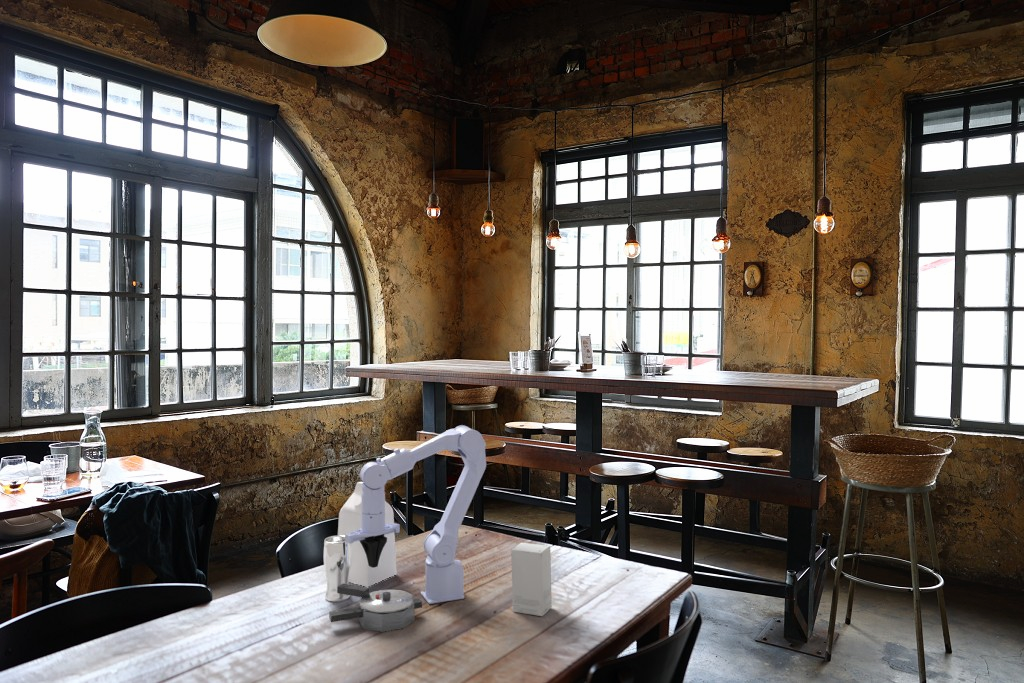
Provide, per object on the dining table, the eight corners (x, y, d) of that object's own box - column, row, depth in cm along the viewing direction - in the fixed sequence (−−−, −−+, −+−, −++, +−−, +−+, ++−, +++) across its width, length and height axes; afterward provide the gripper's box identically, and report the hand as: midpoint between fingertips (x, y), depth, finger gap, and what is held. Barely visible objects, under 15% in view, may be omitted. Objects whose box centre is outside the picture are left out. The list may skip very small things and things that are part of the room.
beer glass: (344, 603, 177) (344, 544, 177) (318, 601, 179) (318, 542, 178) (356, 593, 184) (356, 535, 184) (331, 591, 186) (331, 534, 185)
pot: (413, 605, 176) (413, 589, 176) (427, 624, 165) (427, 607, 165) (325, 619, 167) (325, 602, 167) (334, 640, 157) (334, 622, 156)
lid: (422, 597, 171) (422, 587, 171) (396, 616, 159) (396, 605, 159) (354, 586, 178) (354, 576, 178) (324, 604, 166) (324, 594, 166)
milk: (396, 575, 198) (396, 482, 198) (367, 587, 188) (367, 490, 188) (365, 567, 205) (365, 477, 204) (335, 578, 195) (335, 484, 194)
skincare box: (552, 608, 175) (552, 545, 175) (542, 618, 169) (542, 553, 169) (521, 602, 179) (521, 541, 178) (510, 612, 173) (510, 548, 172)
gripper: (388, 503, 184) (388, 556, 184) (338, 513, 173) (338, 568, 174) (404, 508, 178) (404, 562, 179) (354, 519, 168) (354, 576, 169)
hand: (373, 566), depth 176 cm, fingers closed
